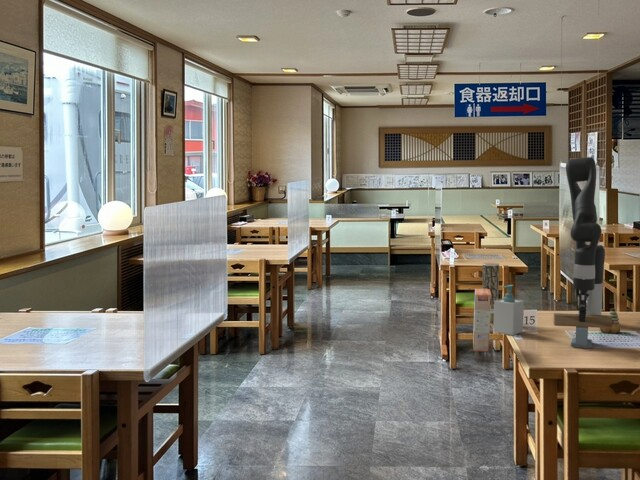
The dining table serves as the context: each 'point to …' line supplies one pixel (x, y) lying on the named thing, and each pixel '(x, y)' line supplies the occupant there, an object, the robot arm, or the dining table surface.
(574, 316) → the walnut bar
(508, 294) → the soap bottle
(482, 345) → the cracker box
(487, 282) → the bark textured block
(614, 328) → the ornament
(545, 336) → the dining table surface
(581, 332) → the fulcrum ridge
